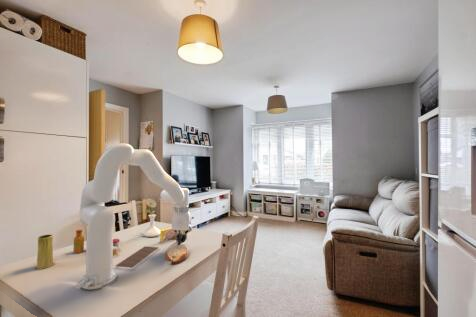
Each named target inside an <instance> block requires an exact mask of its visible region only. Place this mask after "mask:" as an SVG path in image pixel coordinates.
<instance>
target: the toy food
mask: <svg viewBox="0 0 476 317" xmlns="http://www.w3.org/2000/svg"><path fill="white" fill-rule="evenodd" d="M120 246H121V240H120V238H113V256H116V255H117V254H118V251H119V250H120V249H121V247H120ZM84 247H85V237H84V236H83V229H76V230H75V237H74V238H73V250H72V251H73V253H75V254H80V253H82V252H83V251H84V249H85V248H84Z"/></svg>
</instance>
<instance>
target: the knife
mask: <svg viewBox="0 0 476 317" xmlns="http://www.w3.org/2000/svg"><path fill="white" fill-rule="evenodd" d="M186 240H188V233H187V234H186ZM183 243H184V242H182V235H181V236H180V237H179V238H178V239H175V241H174V242H173V243H172V244H171V245H169V247H167V251H168V253H170V252H171V251H172V250H173V249H174V248H175V247H177V246H178V245H182V244H183Z"/></svg>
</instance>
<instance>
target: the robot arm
mask: <svg viewBox="0 0 476 317" xmlns="http://www.w3.org/2000/svg"><path fill="white" fill-rule="evenodd" d="M122 165H127V166H135V167H140V169H141V170H142V172H143V173H144V174H145V176H146V177H147V179H148V180H149V181H150V183H153V184H154V185H156V186H158V187H160V188H161V189H163V190H162V191H161V192H160V200H162V201H163V202H165V203H168V204H174V206H173V208H172V209H173V210H174V211H173V214H172V218H171V220H172V221H171V227H172V229H171V230H173V231H175V233H176V234H177V239H178V238H179V237H180V236H181V233H180V230H183V235H182V242H183V243H185V242H186V240H187V239H186V234H187V235H188V233H190V232H192V231H193V228H192V217H191V212H190V210H189V207H190V203H189V202H190V190H189V188H187V187H181V185H180V184H179V183H178V182H177V180H175V179H174V178H173V177H172V176H171V175H169V173H167V172H166V171H165V170H164V168H163V166H162V165H161V164H160V162H159V161H158V159H157V158H156V157H155V154H154V153H153V152H152V151H151V150H150V149H147V148H141V149H139V148H138V149H135V148H134V147H133V146H132V145H131V144H130V143H127V142H121V143H120V142H119V143H112V144H109V145H107V146H106V147H105V148H104V150H103V154H102V155H101V156H100V157H99V159H98V161H97V162H96V165H95V170H94V175H93V179H91V180H90V181H88V182H87V183H86V184H84V186H83V189H82V190H81V191H82V192H81V197H80V205H79V211H78V212H79V214H78V215H79V220H80V222H81V223H82V224H83V225H85V226H87V227H88V231H87V233H86V241H85V243H86V244H85V245H86V248H85V250H86V251H85V275H84V276H83V279H82V280H81V281H80V282H78V283H76V284H75V289H77V290H80V289H81V288H82V289H84V290H97V289H101V288H104V287H107V284H108V283H111V282H113V281H114V280H115V279H116V278H117V272H115V271H113V267H114V264H113V263H114V262H113V261H114V255H113V239H114V230H115V229H114V228H115V223H116V214H115V212H114V211H113V209H111V208H110V207H108V206H106V205H105V203H110V202H111V201H112V200H113V199H114V198H115V195H116V188H117V180H118V173H119V170H120V168H121V166H122Z"/></svg>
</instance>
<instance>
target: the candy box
mask: <svg viewBox="0 0 476 317" xmlns="http://www.w3.org/2000/svg"><path fill="white" fill-rule="evenodd" d="M171 229H172V226H171V227H167V228H164V229H160V231H161V232H160V234H159V236H160V237H159V242H160V243H164V242H167V241H176V239H177V234H176V233H175V231H173V230H171ZM180 233H181V235H183V230H180Z"/></svg>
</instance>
